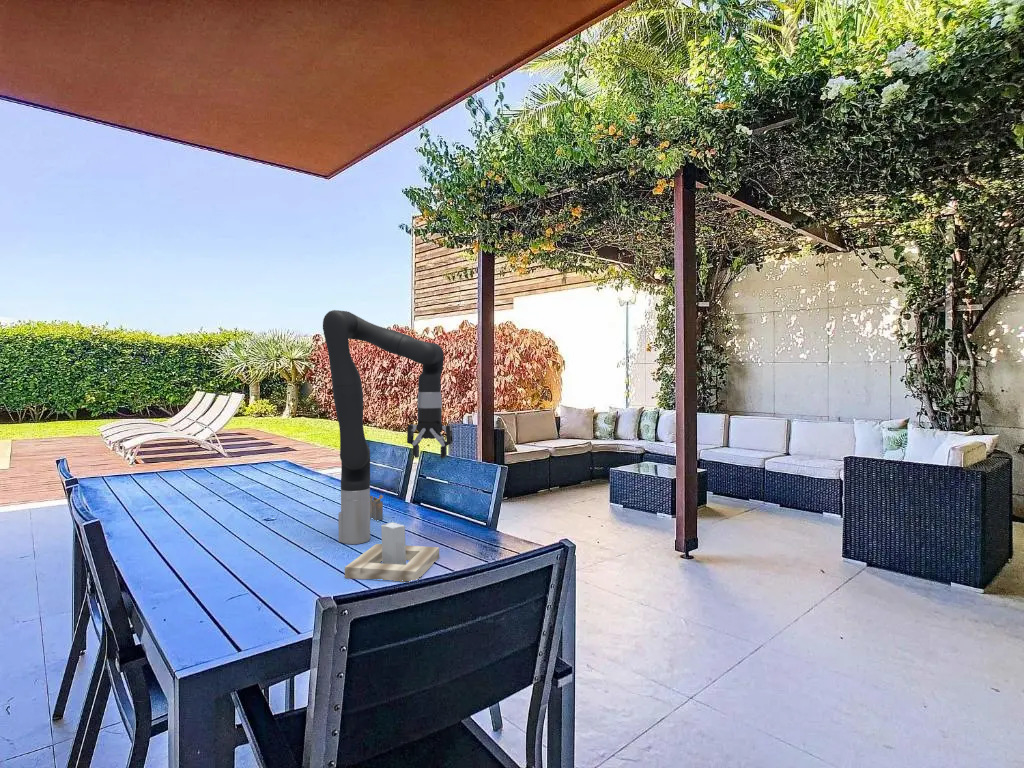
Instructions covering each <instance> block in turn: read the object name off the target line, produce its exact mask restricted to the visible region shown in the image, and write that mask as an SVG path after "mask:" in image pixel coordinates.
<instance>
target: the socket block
mask: <svg viewBox="0 0 1024 768" xmlns="http://www.w3.org/2000/svg"><path fill="white" fill-rule="evenodd" d="M405 546H406V560H409V561H408V562H406V565H399V564H383V561H382V543H375V544H374V545H373V546H371V547H370V548H369V549H367V550H366V551H365V552H363V553H362V554H361V555H359V556H357V557H356V558H355V559H354V560H352V561H351V562H350V563H348V564H347V565H345V566H344V578H345V579H352V580H366V579H383V580H394V581H393V582H395V581H400V582H399V583H406V582H405V581H411V580H416V579H419V580H420V579H421V578H422V577H423V576H424V575H423V574H425V573H427V571H429V569H430V568H431V567H432V566H433V565H434V564H435V563H436V561H438V560H439V558H440V547H438V546H437V547H436V546H422V545H406V544H405ZM381 561H382V562H381ZM434 562H435V563H434ZM433 563H434V564H433ZM421 576H422V577H421ZM419 577H421V578H419ZM402 580H403V581H402Z"/></svg>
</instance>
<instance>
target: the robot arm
mask: <svg viewBox="0 0 1024 768" xmlns="http://www.w3.org/2000/svg"><path fill="white" fill-rule="evenodd" d="M322 330H323V335H324V340H325V344H326V345H325V346H326V348H327V354H328V360H329V361H328V362H329V368H330V376H331V387H332V394H333V395H332V396H333V401H334V402H333V403H334V407H335V412H336V417H337V421H338V426H339V427H338V428H339V458H340V459H339V460H340V462H341V465H340V467H341V471H340V472H341V473H340V474H341V475H340V476H341V478H340V512H338V514H337V515H338V521H337V522H338V543H343V544H346V545H358V544H363V543H364V544H365V543H367V542H369V541H370V540H371V518H370V496H371V449H370V446H369V445H368V443H367V440H366V436H365V431H364V420H363V419H364V392H363V385H362V384H363V383H362V378H361V376H360V375H361V374H360V372H359V371H358V368H357V366H356V364H355V362H354V359H353V358H352V355H351V352H350V343H349V342H350V341H349V340H355V341H357V340H358V341H362V342H367V343H368V344H371V345H374V346H376V347H377V348H379V349H381V350H383V351H386V352H387V353H390V354H392V355H393V354H394V355H396V356H399V357H401V358H402V357H403V358H407V359H408V360H410V361H413V362H415V363H417V364H421V365H422V369H421V370H422V371H421V373H420V374H419V376H418V381H417V383H418V385H417V386H418V387H417V389H418V393H417V424H408V425H407V432H406V433H407V434H406V435H407V436H406V438H407V439H406V443H407V444H408V445H409V444H410V445H411V446H412V455H413V456H414V458H416V459H417V458H419V457H420V445H419V444H420V442H421V441H422V440H425V439H426V440H427V439H429V440H434V439H435V440H436V441H437V442H438V443H439V444H440V459H441V460H442V459H445V458H446V457H447V456H448V455H447V450H448V449H447V447H448V446H450V445H452V444H453V443H454V442H453V426H452V425H451V424H448V425H444V424H443V419H442V418H443V415H442V414H443V400H442V397H443V396H442V379H441V378H442V373H443V367H444V359H445V356H444V355H445V354H444V351H443V348H442V347H441V345H439V344H438V343H434V342H427V341H424V340H419V339H416V338H414V337H413V336H411V335H408V334H406V333H403V332H399V331H396V330H393V329H389V328H385V327H382V326H379V325H376V324H374V323H371V322H369V321H368V320H365V319H364V318H362V317H360V316H358V315H356V314H354V313H353V312H350V311H347V310H346V311H345V310H336V309H333V310H330V311H328V312H327V313H326V314H325V315H324V317H323V319H322ZM416 430H417V432H418V434H417V436H416V437H415V436H414V435H415V431H416ZM442 431H444V433H445V435H446V439H445V438H444V437H445V436H443V435H442ZM414 437H415V439H414Z"/></svg>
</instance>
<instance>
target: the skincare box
mask: <svg viewBox="0 0 1024 768" xmlns="http://www.w3.org/2000/svg"><path fill="white" fill-rule="evenodd" d="M380 528H381V533H380V535H381V544H382V563H383V564H399V565H406V564H407V561H406V546H407V545H406V525H403V524H399V523H396V522H388V523H383V524H381V525H380ZM405 545H406V546H405Z"/></svg>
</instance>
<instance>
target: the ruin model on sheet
mask: <svg viewBox="0 0 1024 768" xmlns="http://www.w3.org/2000/svg"><path fill="white" fill-rule="evenodd" d="M383 498H384V495H382V494H380V495H379V497H378V498H377V497H376V496H373V495H370V517H371V518H373V519H374V520H376V521H377V520H383V521H384V519H383V517H384V515H383V514H384V512H383V509H384V507H383V505H384V503H383V500H382V501H381V499H383ZM371 518H370V519H371ZM373 519H372V520H373ZM374 520H373V521H374ZM376 521H375V522H376ZM377 522H378V521H377Z"/></svg>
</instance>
